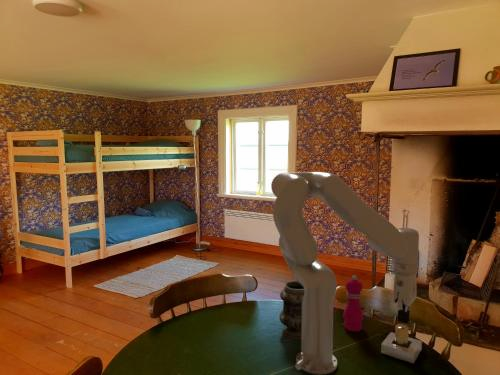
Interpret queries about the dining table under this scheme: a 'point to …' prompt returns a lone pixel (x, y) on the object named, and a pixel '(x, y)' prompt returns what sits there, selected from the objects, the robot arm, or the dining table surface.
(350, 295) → the pepper mill
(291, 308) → the apothecary jar
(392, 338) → the jig
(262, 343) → the dining table surface
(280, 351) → the dining table surface
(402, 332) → the cylinder
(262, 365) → the dining table surface
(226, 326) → the dining table surface
